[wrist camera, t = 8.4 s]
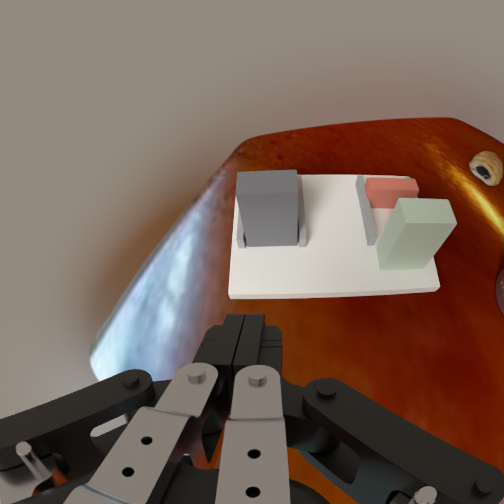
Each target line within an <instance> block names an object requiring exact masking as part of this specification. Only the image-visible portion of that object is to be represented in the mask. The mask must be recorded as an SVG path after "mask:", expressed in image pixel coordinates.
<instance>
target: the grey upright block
mask: <svg viewBox="0 0 504 504" xmlns="http://www.w3.org/2000/svg"><path fill="white" fill-rule="evenodd" d="M236 198H237V203H238V207H239V211H240V216H241V220H242V224H243V229H244V233H245V237H246V242H247V246H248V247H264V246H297V226H298V181H297V170H273V171H249V172H237V184H236Z"/></svg>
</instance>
